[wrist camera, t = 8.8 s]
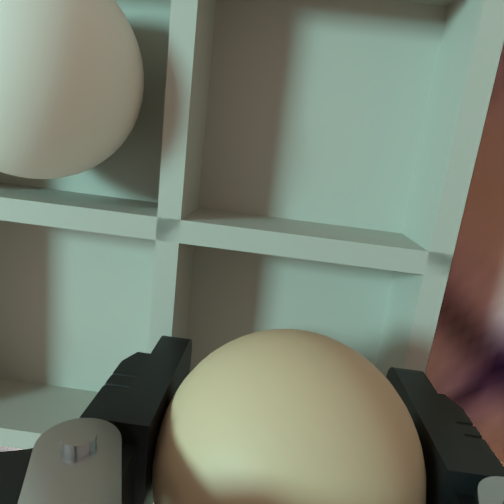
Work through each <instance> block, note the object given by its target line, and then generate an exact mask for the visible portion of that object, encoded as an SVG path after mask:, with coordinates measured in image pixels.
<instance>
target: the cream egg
mask: <svg viewBox="0 0 504 504" xmlns="http://www.w3.org/2000/svg"><path fill="white" fill-rule="evenodd" d="M143 92H144V70H143V62H142V57H141V53H140V49H139V45H138V42H137V40H136V37H135V35H134V32H133V30H132V27H131V26H130V24H129V22H128V20H127V18H126V16H125V14H124V13H123V11H122V10H121V8H120V7H119V5H118V4H117V2H116V1H115V0H0V172H2V173H5V174H9V175H13V176H18V177H23V178H32V179H54V178H63V177H67V176H71V175H75V174H79V173H81V172H84V171H87V170H89V169H91V168H93V167H95V166H97V165H98V164H100V163H102V162H103V161H105V160H106V159H107V158H108V157H110V156H111V155H112V154H114V153H115V152H116V151H117V150H118V149H119V148H120V147H121V145H122V144H123V143H124V141H125V140H126V139H127V137H128V136H129V134H130V133H131V131H132V129H133V127H134V125H135V123H136V120H137V118H138V115H139V113H140V108H141V104H142V100H143Z"/></svg>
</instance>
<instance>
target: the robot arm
mask: <svg viewBox="0 0 504 504" xmlns="http://www.w3.org/2000/svg"><path fill="white" fill-rule="evenodd" d="M191 353H192V340H191V339H186V338H178V337H171V336H164V335H163V336H161V338H160V339H159V341H158V343H157V344H156V346H155V347H154V349H153V350H152V352H151V354H150V353H143V352H136V353H135V354H133V355H131V356H129V357H128V358H126V359H124V360H122V361H121V363H120V364H119V365H118V367H117V368H116V369H115V371H114V372H113V375H111V376H110V377H109V379H108V380H107V381H106V383H105V386H104V385H103V387H102V388H101V389H100V391H99V392H98V393H97V395H96V396H95V397H94V399H93V400H92V401H91V403H90V404H89V405H88V407H87V408H86V409H85V411H84V412H83V413H82V415H81V416H80V417H79V418H77V419H72V420H67V421H64V422H61V423H59V424H57V425H54V426H53V427H51V428H49V429H48V430H46V431H45V432H44V433H43V434H42V435H41V436H40V437H39V438H38V439H37V441H36V442H35V445H34V447H33V448H30V449H25V450H17V451H6V452H0V504H153V502H154V498H153V485H152V466H153V459H154V452H155V446H156V442H157V437H158V433H159V429H160V425H161V422H162V419H163V416H164V413H165V411H166V409H167V407H168V405H169V403H170V401H171V399H172V397H173V396H174V394H175V392H176V390H177V389H178V388H179V386H180V385H181V383H182V382H183V380H184V379H185V378H186V377H187V376H188V375H189V373H190V364H191ZM386 378H387V379H388V381H389V382H390V383H391V384H392V386H393V387H394V388H395V390H396V391H397V393H398V394H399V396H400V397H401V399H402V401H403V402H404V404H405V405H406V407H407V409H408V411H409V414H410V416H411V418H412V420H413V422H414V425H415V428H416V430H417V433H418V436H419V440H420V443H421V446H422V451H423V457H424V463H425V470H426V504H504V467H503V466H502V464H501V463H500V461H499V460H498V458H497V457H496V456H495V454H494V453H493V451H492V450H491V449H490V447H489V446H488V444H487V443H486V442H485V440H483V439H482V436H481V434H480V433H479V432H478V430H477V429H476V427H474V426H473V423H472V422H471V420H470V419H469V418H468V416H467V415H466V413H465V412H464V410H463V409H462V408H461V407H460V406H458V405H457V404H456V403H454V402H453V401H452V400H451V399H449V398H448V397H447V396H446V395H444V394H438V393H437V392H436V390H435V389H434V387H433V386H432V384H431V383H430V381H429V380H428V378H427V376H426V375H425V373H424V372H422V371H418V370H410V369H403V368H396V367H391V368H389V370H388V372H387V375H386Z"/></svg>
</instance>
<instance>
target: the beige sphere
mask: <svg viewBox="0 0 504 504" xmlns="http://www.w3.org/2000/svg"><path fill="white" fill-rule="evenodd" d="M152 485H153V498H154V504H426V470H425V463H424V457H423V451H422V446H421V443H420V440H419V436H418V433H417V430H416V428H415V425H414V422H413V420H412V418H411V416H410V414H409V411H408V409H407V407H406V405H405V404H404V402H403V401H402V399H401V397H400V396H399V394H398V393H397V391H396V390H395V388H394V387H393V386H392V384H391V383H390V382H389V381H388V379H387V378H386V377H385V376H384V375H383V374H382V373H381V372H380V371H379V370H378V369H377V368H376V367H375V366H374V365H373V364H372V363H371V362H370V361H368V360H367V359H366V358H365V357H364V356H363V355H361V354H360V353H358V352H356V351H355V350H353V349H352V348H350V347H349V346H347V345H345V344H343V343H341V342H339V341H336V340H334V339H332V338H330V337H327V336H324V335H321V334H318V333H315V332H310V331H304V330H297V329H270V330H264V331H259V332H254V333H251V334H248V335H244V336H241V337H239V338H237V339H235V340H233V341H230V342H228V343H226V344H225V345H223V346H221V347H220V348H218V349H217V350H215V351H213V352H212V353H210V354H209V355H208V356H207V357H206V358H204V359H203V360H202V361H201V362H200V363H199V364H198V365H197V366H196V367H195V368H194V369H193V370H192V371H191V372H190V373H189V375H188V376H187V377H186V378H185V379H184V380H183V382H182V383H181V385H180V386H179V388H178V389H177V390H176V392H175V394H174V396H173V397H172V399H171V401H170V403H169V405H168V407H167V409H166V411H165V413H164V416H163V419H162V422H161V425H160V429H159V433H158V437H157V442H156V446H155V452H154V459H153V466H152Z"/></svg>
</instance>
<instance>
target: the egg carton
mask: <svg viewBox="0 0 504 504" xmlns="http://www.w3.org/2000/svg"><path fill="white" fill-rule="evenodd" d="M115 1H116V2H117V4H118V5H119V7H120V8H121V10H122V11H123V13H124V14H125V16H126V18H127V20H128V22H129V24H130V26H131V27H132V30H133V32H134V35H135V37H136V40H137V42H138V45H139V49H140V53H141V57H142V62H143V70H144V92H143V100H142V104H141V108H140V113H139V115H138V118H137V120H136V123H135V125H134V127H133V129H132V131H131V133H130V134H129V136H128V137H127V139H126V140H125V141H124V143H123V144H122V145H121V147H120V148H119V149H118V150H117V151H116V152H115V153H114V154H112V155H111V156H110V157H108V158H107V159H106V160H105V161H103V162H102V163H100V164H98V165H97V166H95V167H93V168H91V169H89V170H87V171H84V172H81V173H79V174H75V175H71V176H67V177H63V178H54V179H32V178H23V177H18V176H13V175H9V174H5V173H2V172H0V445H1V446H8V447H15V448H22V449H30V448H33V447H34V445H35V442H36V441H37V439H38V438H39V437H40V436H41V435H42V434H43V433H44V432H45V431H46V430H48V429H49V428H51V427H53V426H54V425H57V424H59V423H61V422H64V421H67V420H72V419H77V418H79V417H80V416H81V415H82V413H83V412H84V411H85V409H86V408H87V407H88V405H89V404H90V403H91V401H92V400H93V399H94V397H95V396H96V395H97V393H98V392H99V391H100V389H101V388H102V387H103V385H104V386H105V383H106V381H107V380H108V379H109V377H110V376H111V375H113V372H114V371H115V369H116V368H117V367H118V365H119V364H120V363H121V361H122V360H124V359H126V358H128V357H129V356H131V355H133V354H135V353H136V352H143V353H150V354H151V352H152V350H153V349H154V347H155V346H156V344H157V343H158V341H159V339H160V338H161V336H163V335H164V336H171V337H178V338H186V339H191V340H192V353H191V364H190V372H191V371H192V370H193V369H194V368H195V367H196V366H197V365H198V364H199V363H200V362H201V361H202V360H203V359H204V358H206V357H207V356H208V355H209V354H210V353H212V352H213V351H215V350H217V349H218V348H220V347H221V346H223V345H225V344H226V343H228V342H230V341H233V340H235V339H237V338H239V337H241V336H244V335H248V334H251V333H254V332H259V331H264V330H270V329H297V330H304V331H310V332H315V333H318V334H321V335H324V336H327V337H330V338H332V339H334V340H336V341H339V342H341V343H343V344H345V345H347V346H349V347H350V348H352V349H353V350H355V351H356V352H358V353H360V354H361V355H363V356H364V357H365V358H366V359H367V360H368V361H370V362H371V363H372V364H373V365H374V366H375V367H376V368H377V369H378V370H379V371H380V372H381V373H382V374H383V375H384V376H385V377H386V375H387V372H388V370H389V368H391V367H396V368H403V369H410V370H418V371H422V372H424V373H426V368H427V364H428V360H429V356H430V351H431V347H432V343H433V339H434V335H435V330H436V326H437V322H438V318H439V313H440V309H441V305H442V301H443V297H444V292H445V288H446V284H447V280H448V275H449V271H450V267H451V263H452V258H453V254H454V250H455V246H456V242H457V237H458V233H459V229H460V225H461V220H462V216H463V212H464V208H465V203H466V199H467V195H468V191H469V187H470V182H471V178H472V174H473V170H474V165H475V161H476V157H477V153H478V148H479V144H480V140H481V136H482V132H483V127H484V123H485V119H486V115H487V110H488V106H489V102H490V98H491V93H492V89H493V85H494V81H495V77H496V72H497V68H498V64H499V60H500V55H501V51H502V47H503V43H504V0H115Z"/></svg>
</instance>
